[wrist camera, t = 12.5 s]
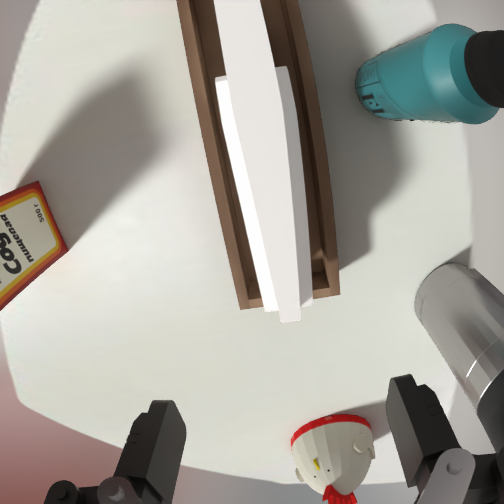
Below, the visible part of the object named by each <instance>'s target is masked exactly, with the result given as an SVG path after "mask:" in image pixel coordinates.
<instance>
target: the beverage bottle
mask: <svg viewBox="0 0 504 504" xmlns="http://www.w3.org/2000/svg"><path fill="white" fill-rule="evenodd" d="M396 46H397V45H396ZM387 50H388V49H387ZM381 53H382V52H381ZM381 53H380V55H378V56H376V55H377V54H376V55H375V56H376V57H374V58H372V59H370V60H368V61H367V62H365V63H364V64H363V65H362V66H361V68H360V69H358V70H359V71H358V74H357V78H355V79H356V86H355V88H356V90H357V92H356V93H357V94H358V95H357V96H358V97H359V99H360V101H361V102H362V103H361V104H363V105H364V108H366V109H367V110H369V111H370V112H371V113H372V114H374V115H376V116H377V117H381V119H382V118H384V119H385V118H386V119H391V120H393V121H402V120H394V119H403V120H404V119H406V120H408V119H409V120H410V121H414V120H422V121H423V120H431V121H434V122H435V121H437V122H438V121H440V122H441V123H442V122H443V121H449V122H448V123H449V124H450V123H452V122H456V123H457V122H463V123H467V124H481V123H484V122H486V121H488V120H490V119H491V118H492V117H494V115H495V114H496V113H497V112H498V110H499V108H504V31H503V30H497V31H483V32H479V33H477V32H475V31H474V30H472V29H470V28H468V27H466V26H462V25H459V24H445V25H442V26H439V27H437V28H436V29H434V30H433V31H431V32H429V33H426V34H424V35H422V36H420V37H417V38H415V39H413V40H411V41H409V42H406V43H404V44H402V45H400V46H397V47H395V48H392V47H391V49H390V50H388V51H386V52H384V51H383V53H382V54H381ZM370 112H369V113H370ZM376 116H375V117H376ZM424 122H425V121H424ZM429 123H430V121H429ZM444 123H446V122H444ZM442 124H443V123H442Z"/></svg>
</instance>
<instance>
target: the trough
mask: <svg viewBox="0 0 504 504" xmlns="http://www.w3.org/2000/svg"><path fill="white" fill-rule="evenodd" d="M176 1H177V6H178V12H179V18H180V23H181V29H182V34H183V40H184V45H185V51H186V56H187V61H188V67H189V72H190V77H191V82H192V88H193V93H194V98H195V103H196V108H197V113H198V118H199V123H200V128H201V133H202V138H203V143H204V148H205V152H206V157H207V162H208V167H209V172H210V176H211V181H212V186H213V190H214V195H215V200H216V204H217V209H218V214H219V218H220V223H221V227H222V232H223V236H224V241H225V245H226V250H227V254H228V258H229V263H230V267H231V272H232V276H233V280H234V285H235V289H236V293H237V298H238V302H239V306H240V310H242V309H250V308H257V307H264V305H263V301H262V297H261V292H260V288H259V284H258V279H257V275H256V270H255V266H254V262H253V257H252V253H251V249H250V244H249V240H248V236H247V231H246V227H245V223H244V218H243V214H242V210H241V205H240V201H239V196H238V192H237V188H236V183H235V179H234V175H233V170H232V166H231V162H230V157H229V153H228V148H227V144H226V140H225V135H224V131H223V127H222V121H221V115H220V109H219V103H218V97H217V91H216V84H215V78H216V77H221V76H226V70H225V64H224V58H223V52H222V47H221V41H220V35H219V29H218V23H217V17H216V12H215V6H214V0H176ZM260 4H261V8H262V12H263V16H264V21H265V25H266V29H267V34H268V38H269V43H270V47H271V52H272V57H273V61H274V66H275V67H282V66H286V67H287V69H288V73H289V78H290V82H291V87H292V92H293V97H294V102H295V107H296V113H297V120H298V129H299V137H300V146H301V155H302V164H303V174H304V184H305V195H306V206H307V218H308V230H309V244H310V258H311V274H312V292H313V299H317V298H323V297H329V296H335V295H340V283H339V268H338V254H337V242H336V231H335V220H334V210H333V201H332V192H331V184H330V175H329V168H328V160H327V153H326V146H325V139H324V132H323V126H322V119H321V113H320V107H319V101H318V96H317V90H316V85H315V79H314V74H313V69H312V64H311V59H310V54H309V49H308V44H307V40H306V35H305V31H304V26H303V22H302V18H301V14H300V9H299V5H298V1H297V0H260Z"/></svg>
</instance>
